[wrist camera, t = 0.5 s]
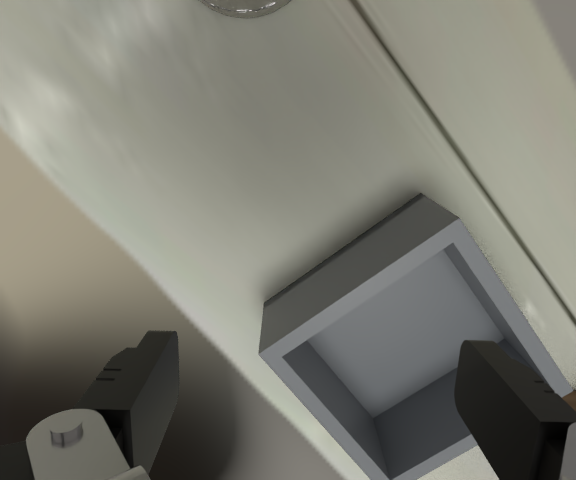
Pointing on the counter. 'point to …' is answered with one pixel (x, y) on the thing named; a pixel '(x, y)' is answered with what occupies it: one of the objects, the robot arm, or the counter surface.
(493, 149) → the counter surface
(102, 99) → the counter surface
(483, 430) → the robot arm
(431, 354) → the gray bin
